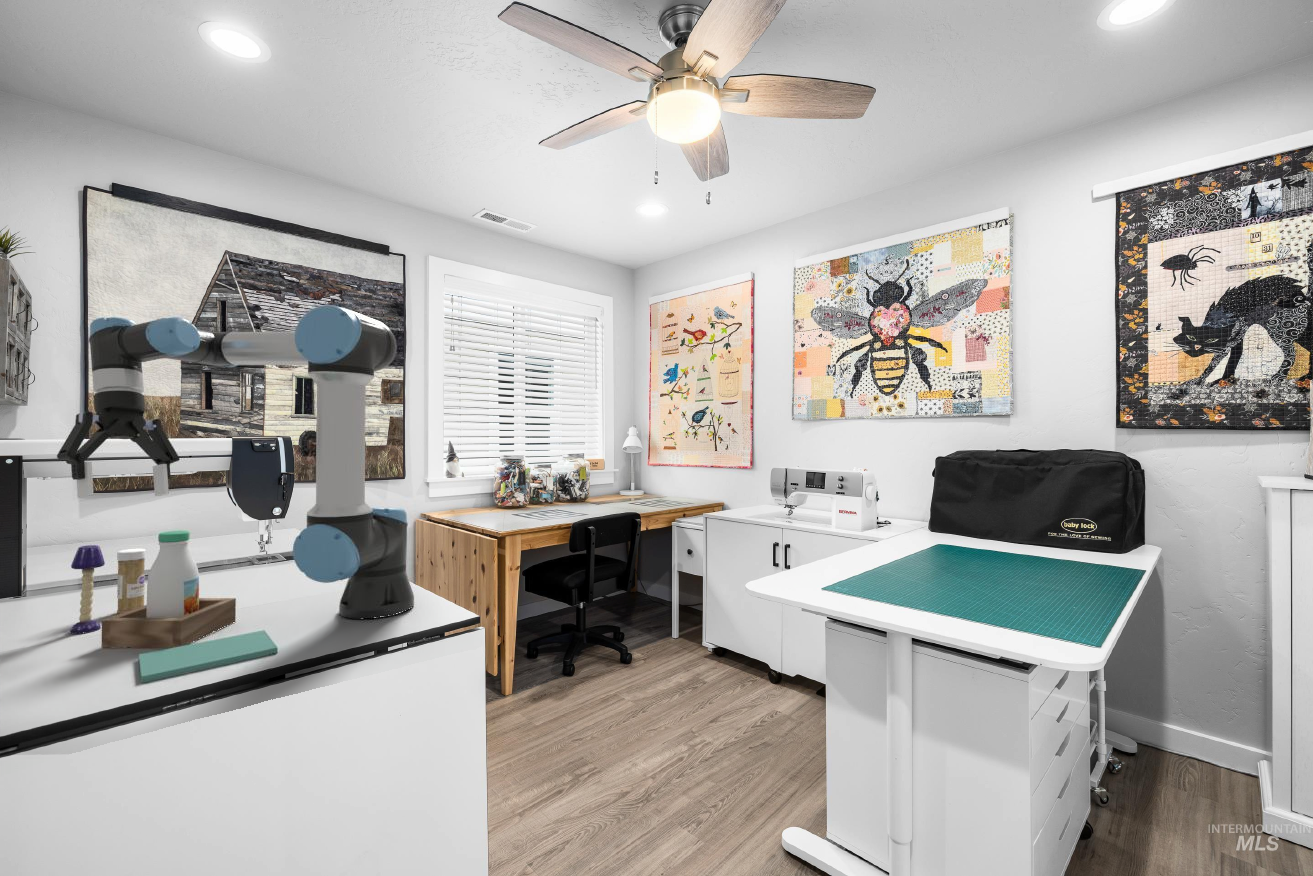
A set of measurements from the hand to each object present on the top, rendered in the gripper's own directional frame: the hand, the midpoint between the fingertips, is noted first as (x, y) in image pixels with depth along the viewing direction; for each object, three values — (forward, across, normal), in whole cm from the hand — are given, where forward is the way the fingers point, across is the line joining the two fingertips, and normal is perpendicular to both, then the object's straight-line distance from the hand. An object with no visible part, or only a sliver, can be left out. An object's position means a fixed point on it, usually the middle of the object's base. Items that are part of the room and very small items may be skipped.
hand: (126, 496), depth 112 cm
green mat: (+33, +6, +24) cm, 41 cm away
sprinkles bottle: (+23, -10, -15) cm, 29 cm away
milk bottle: (+29, -1, +7) cm, 30 cm away
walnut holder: (+29, -1, +7) cm, 30 cm away
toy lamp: (+25, +1, -10) cm, 27 cm away
